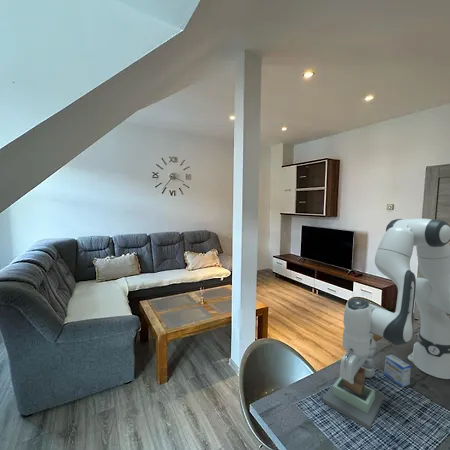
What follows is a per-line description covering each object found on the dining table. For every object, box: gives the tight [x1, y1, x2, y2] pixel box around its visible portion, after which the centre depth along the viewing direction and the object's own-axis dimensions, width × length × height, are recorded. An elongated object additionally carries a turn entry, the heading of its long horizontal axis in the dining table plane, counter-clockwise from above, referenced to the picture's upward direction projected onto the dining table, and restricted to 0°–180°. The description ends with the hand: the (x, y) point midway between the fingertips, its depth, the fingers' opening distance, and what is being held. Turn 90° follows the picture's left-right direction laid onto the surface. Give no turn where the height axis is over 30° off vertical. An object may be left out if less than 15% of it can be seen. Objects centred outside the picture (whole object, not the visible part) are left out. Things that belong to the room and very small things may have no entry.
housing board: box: [321, 375, 385, 431], centre depth 93 cm, size 18×16×5 cm
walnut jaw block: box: [343, 367, 366, 395], centre depth 92 cm, size 4×6×8 cm, turn 44°
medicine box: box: [383, 354, 412, 388], centre depth 103 cm, size 8×4×9 cm, turn 21°
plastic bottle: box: [361, 332, 378, 379], centre depth 105 cm, size 6×7×20 cm
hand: (354, 378), depth 92 cm, fingers closed on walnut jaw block, 4 cm apart
